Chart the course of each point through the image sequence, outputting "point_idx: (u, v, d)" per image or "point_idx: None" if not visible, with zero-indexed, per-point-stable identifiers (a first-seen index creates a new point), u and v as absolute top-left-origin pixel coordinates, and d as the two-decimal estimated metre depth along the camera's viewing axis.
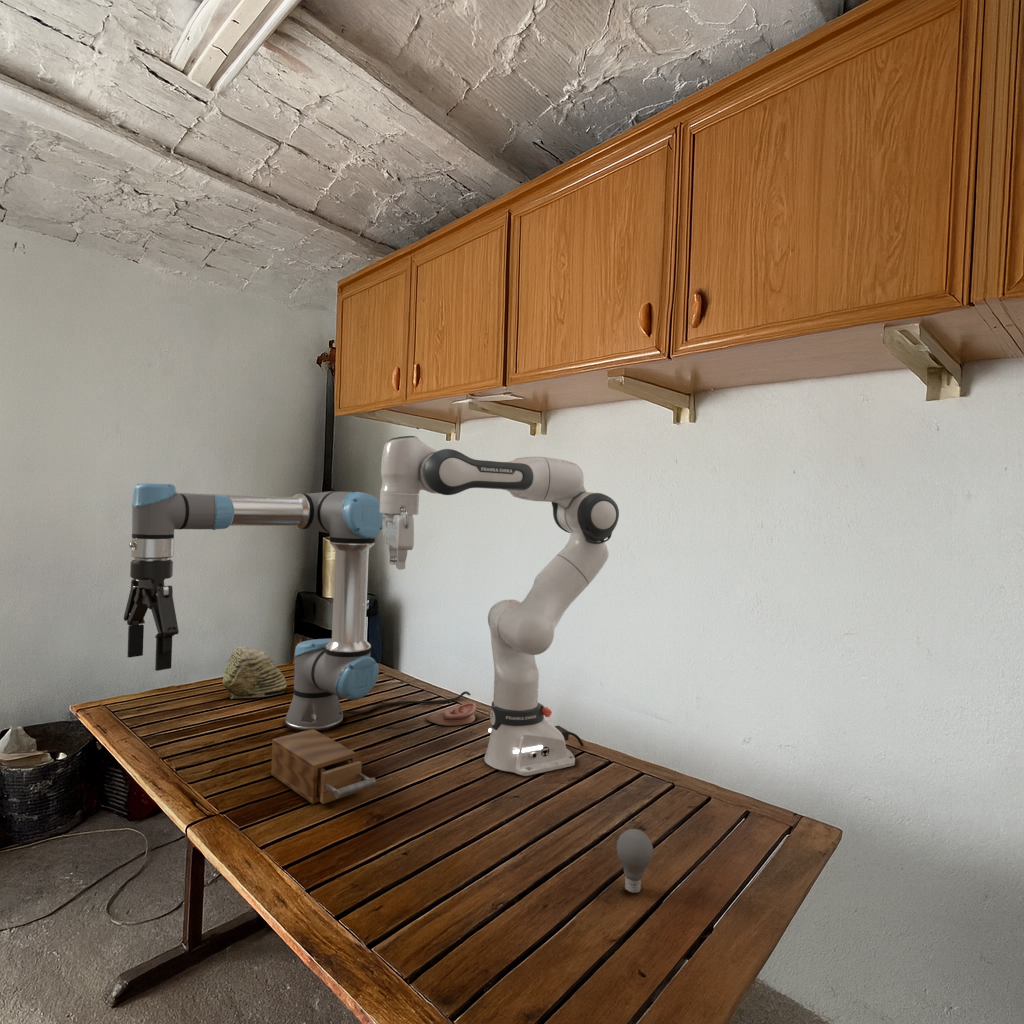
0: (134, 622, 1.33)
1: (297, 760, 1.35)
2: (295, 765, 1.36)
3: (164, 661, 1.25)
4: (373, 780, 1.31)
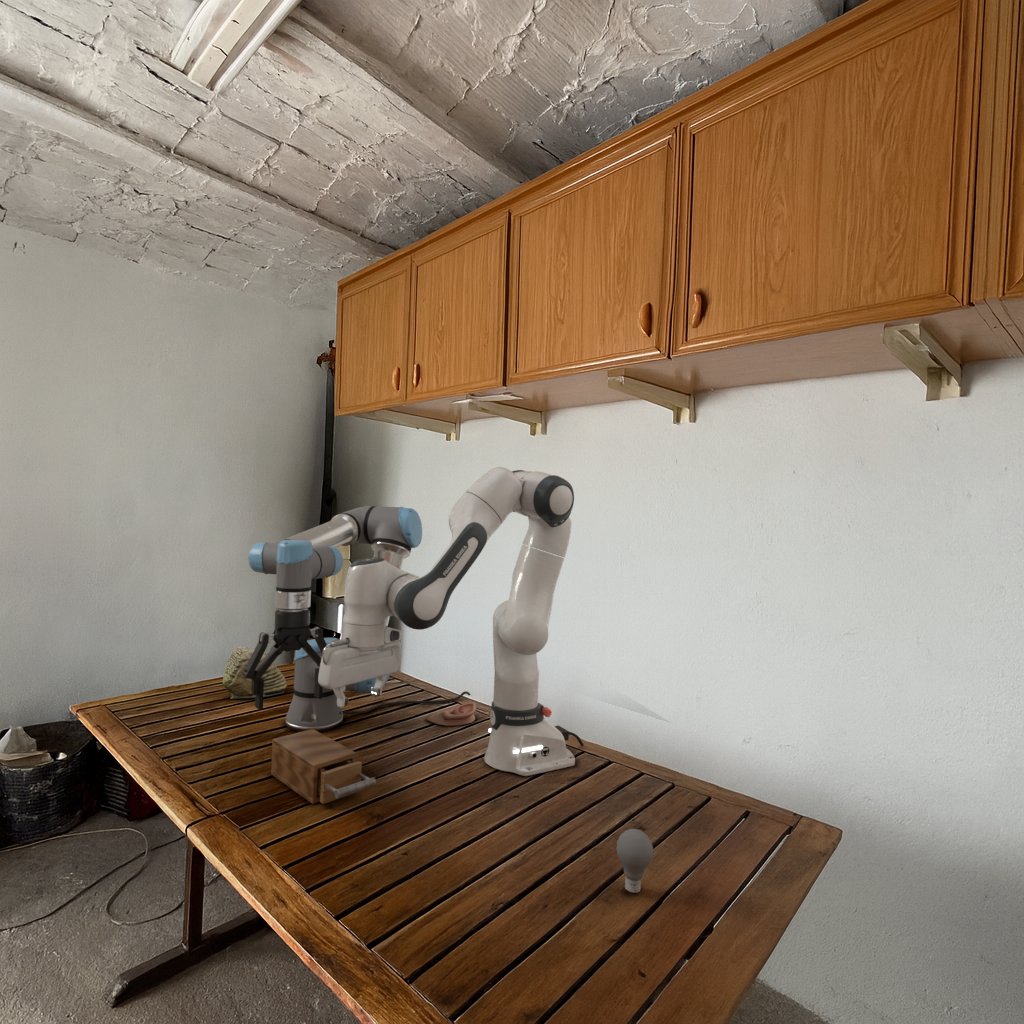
0: None
1: (297, 760, 1.35)
2: (295, 765, 1.36)
3: None
4: (373, 780, 1.31)
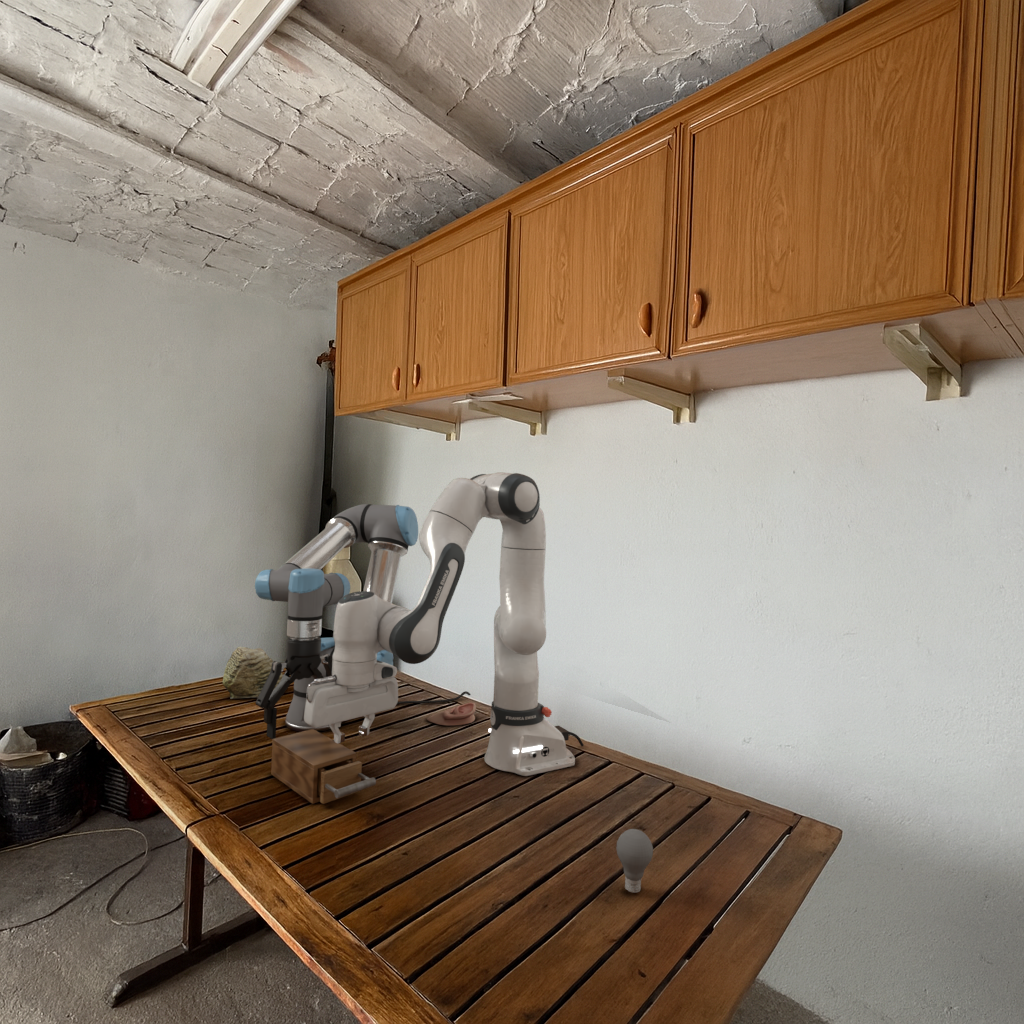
0: None
1: (297, 760, 1.35)
2: (295, 765, 1.36)
3: None
4: (373, 780, 1.31)
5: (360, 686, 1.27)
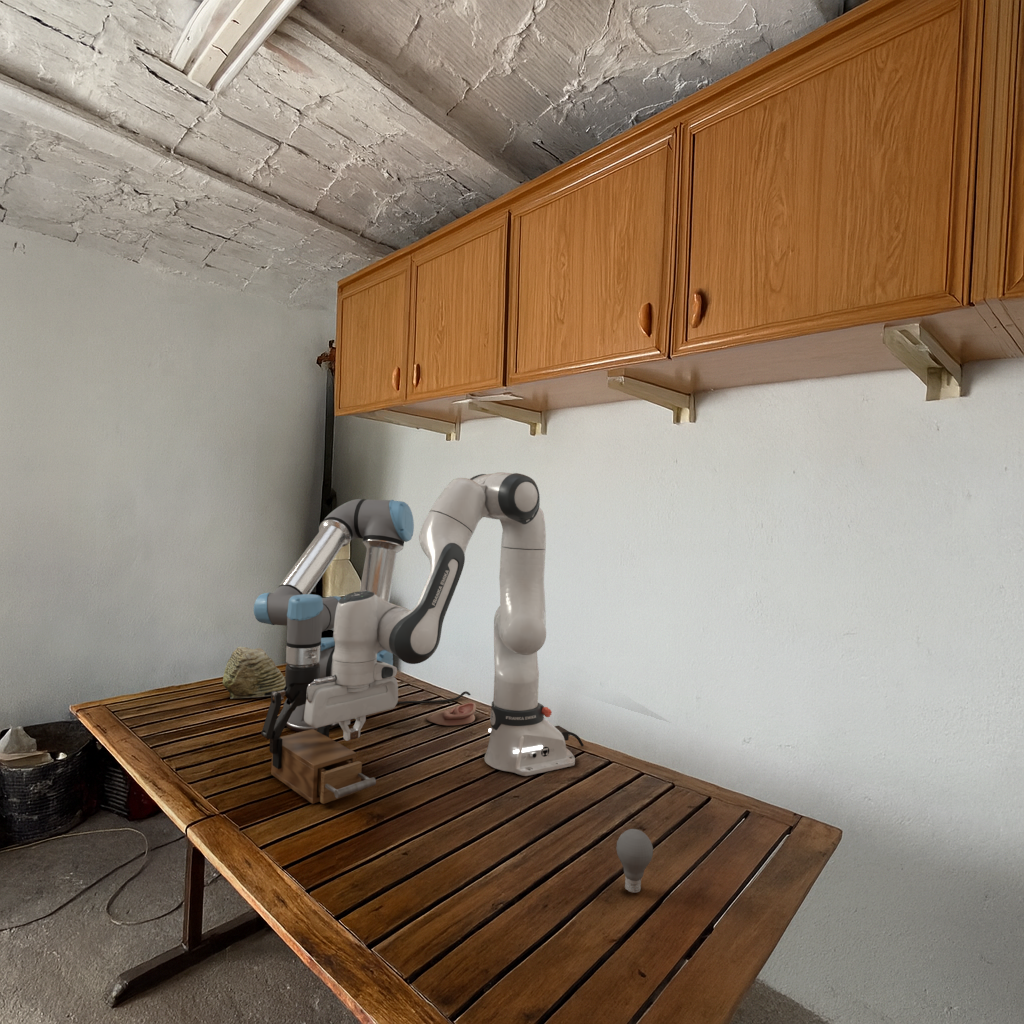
0: None
1: (297, 760, 1.35)
2: (295, 765, 1.36)
3: None
4: (373, 780, 1.31)
5: (360, 686, 1.27)
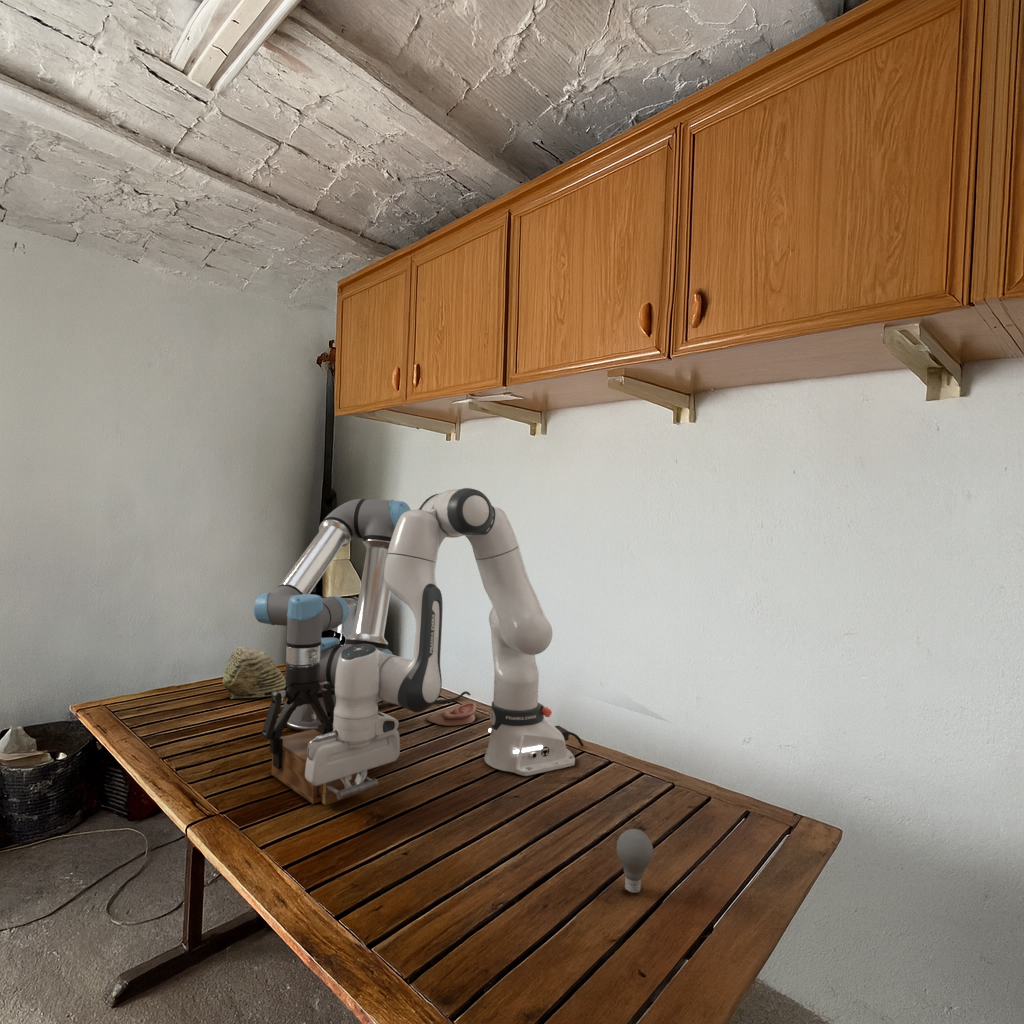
0: None
1: (297, 760, 1.35)
2: (295, 765, 1.36)
3: None
4: (375, 781, 1.30)
5: (361, 742, 1.27)
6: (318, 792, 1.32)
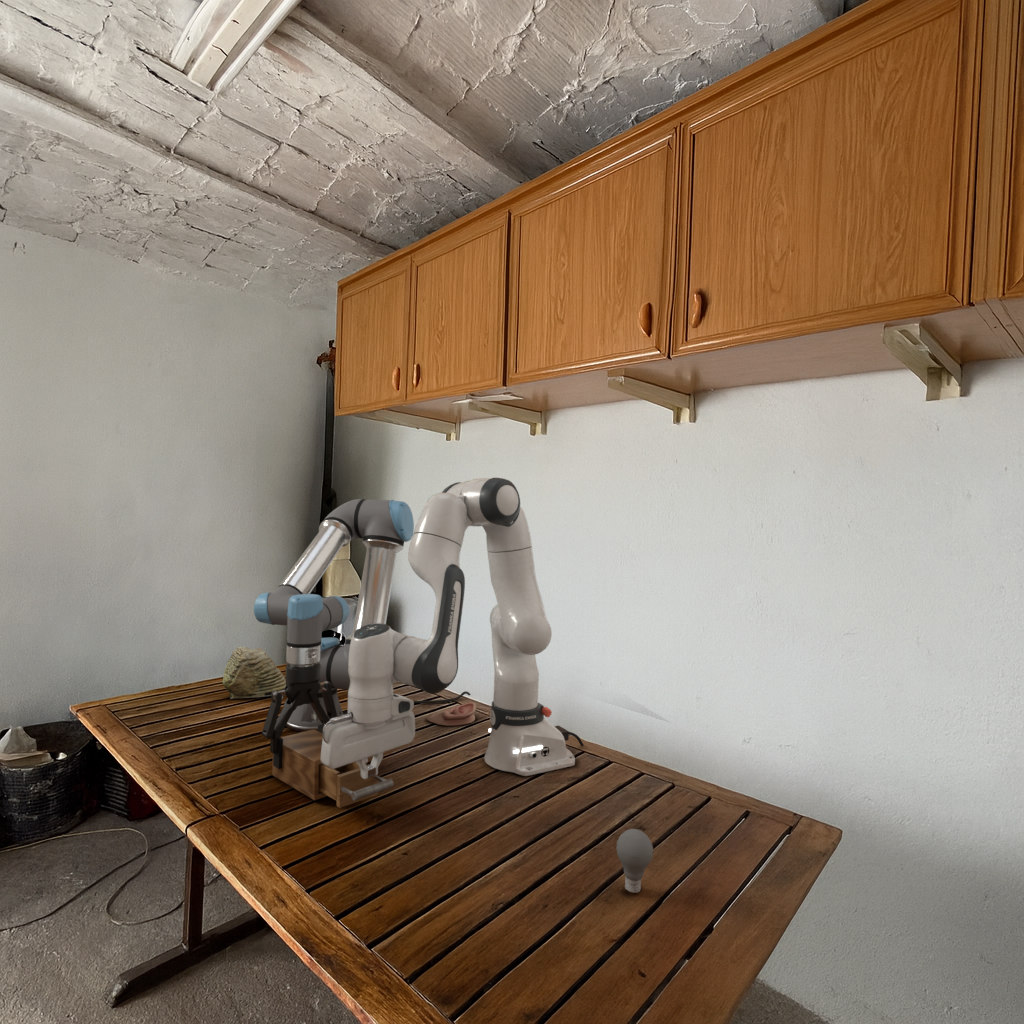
0: None
1: (298, 758, 1.35)
2: (296, 763, 1.35)
3: None
4: (390, 782, 1.27)
5: (377, 723, 1.23)
6: (332, 795, 1.28)
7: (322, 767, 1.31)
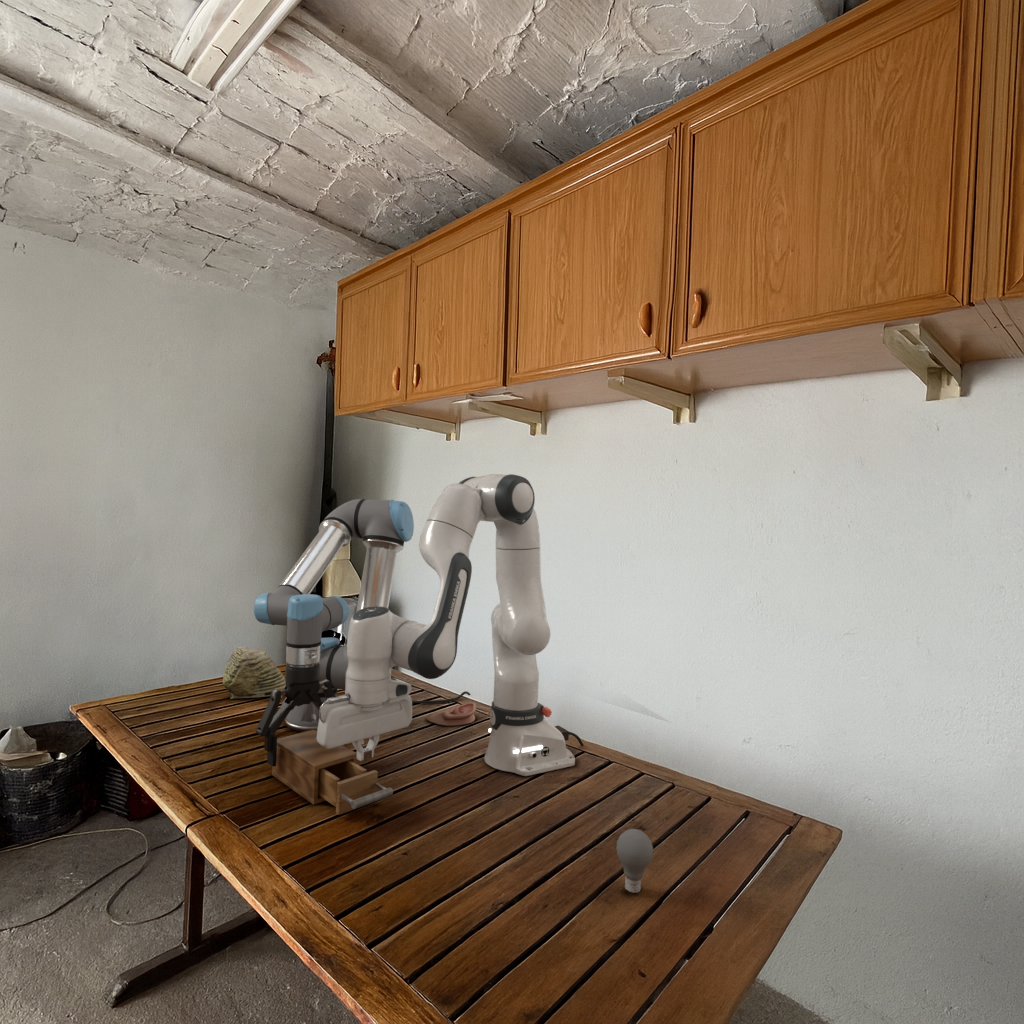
0: None
1: (298, 761, 1.35)
2: (296, 766, 1.35)
3: None
4: (390, 790, 1.27)
5: (374, 705, 1.24)
6: (331, 801, 1.28)
7: (322, 772, 1.31)
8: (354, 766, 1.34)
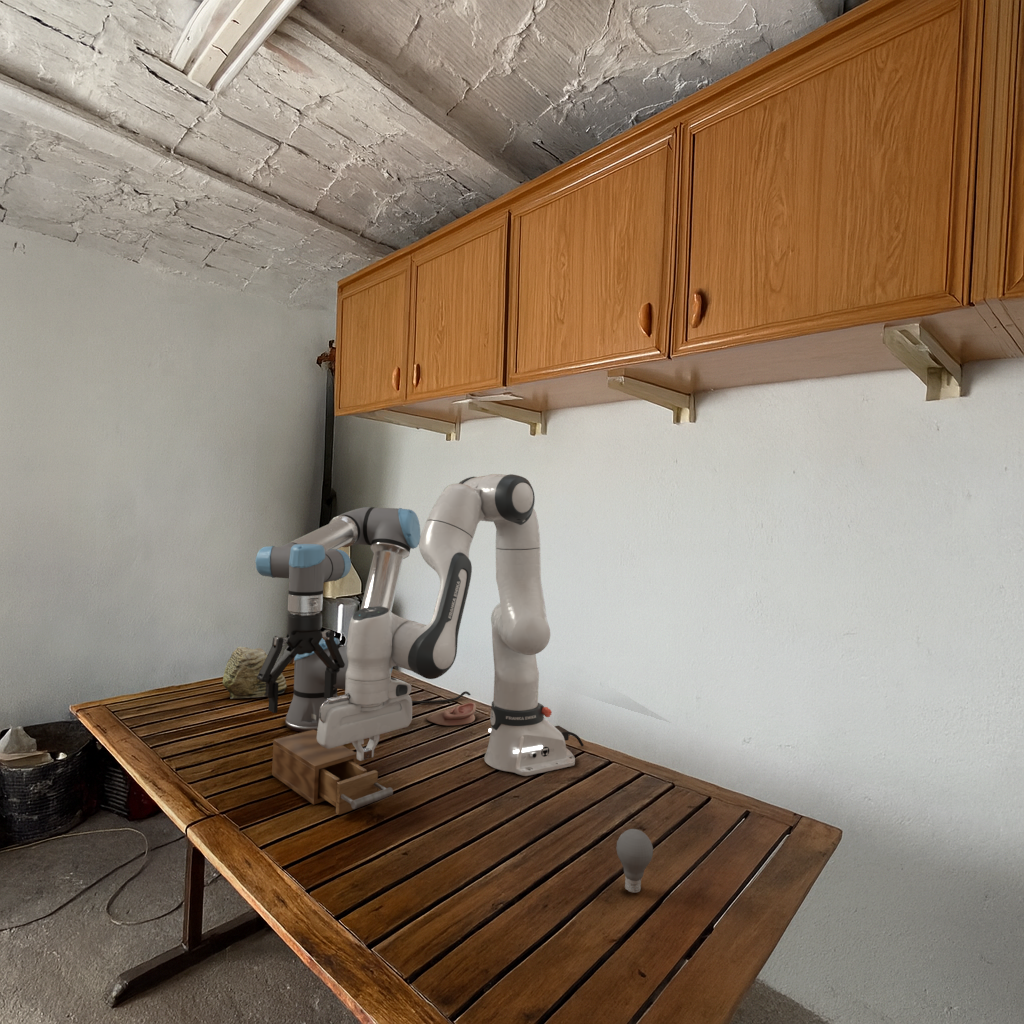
0: None
1: (298, 761, 1.35)
2: (296, 766, 1.35)
3: None
4: (390, 790, 1.27)
5: (374, 705, 1.24)
6: (331, 801, 1.28)
7: (322, 772, 1.31)
8: (354, 766, 1.34)
